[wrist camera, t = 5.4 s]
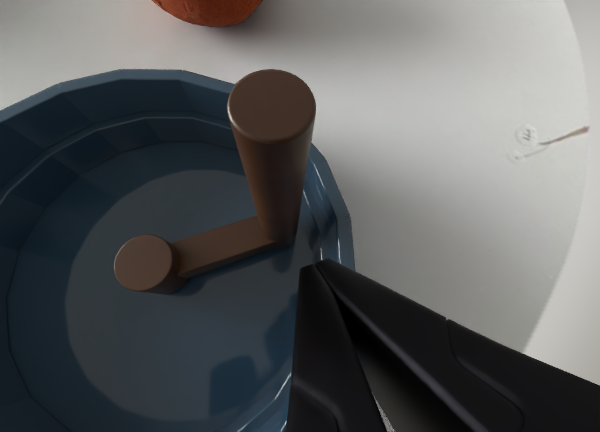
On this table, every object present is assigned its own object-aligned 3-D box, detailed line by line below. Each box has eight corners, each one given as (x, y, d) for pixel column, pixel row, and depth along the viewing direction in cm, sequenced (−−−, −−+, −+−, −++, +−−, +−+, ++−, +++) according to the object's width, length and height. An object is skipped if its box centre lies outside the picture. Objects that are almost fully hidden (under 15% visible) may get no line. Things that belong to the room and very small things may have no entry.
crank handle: (303, 247, 15) (335, 140, 6) (147, 301, 14) (-160, 284, 4) (288, 207, 16) (293, 48, 6) (138, 255, 15) (-146, 151, 5)
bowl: (385, 378, 14) (436, 413, 9) (6, 545, 12) (-185, 707, 7) (275, 103, 19) (272, 34, 14) (-12, 178, 16) (-134, 125, 12)
